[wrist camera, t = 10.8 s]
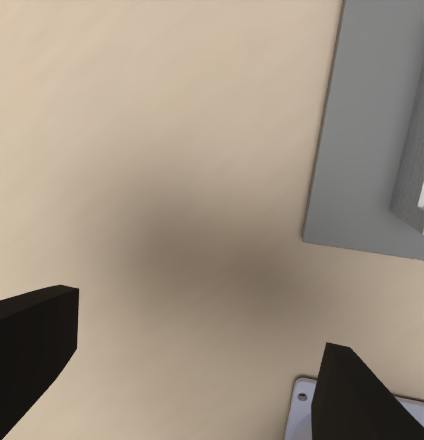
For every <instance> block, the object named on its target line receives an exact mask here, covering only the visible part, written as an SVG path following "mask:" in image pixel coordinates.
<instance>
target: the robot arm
mask: <svg viewBox="0 0 424 440" xmlns="http://www.w3.org/2000/svg"><path fill="white" fill-rule="evenodd" d="M78 306H79V289H78V288H73V287H68V286H64V285H57V286H51V287H47V288H43V289H39V290H35V291H32V292H28V293H25V294H21V295H18V296H14V297H11V298H7V299H4V300H0V440H2V439H3V438H4V437H5V436H6V435H7V434H8V432H9V431H10V430H11V429H12V428H13V427H14V426H15V425H16V424H17V422H18V421H19V420H20V419H21V418H22V417H23V416H24V415H25V414H26V412H27V411H28V410H29V409H30V408H31V407H32V406H33V405H34V404H35V402H36V401H37V400H38V399H39V398H40V397H41V396H42V395H43V393H44V392H45V391H46V390H47V389H48V388H49V387H50V385H51V384H52V383H53V382H54V381H55V380H56V378H57V377H58V376H59V374H60V373H61V372H62V370H63V369H64V367H65V366H66V364H67V363H68V361H69V360H70V358H71V357H72V355H73V354H74V352H75V351H76V349H77V333H78ZM300 393H304V394H306V395H305V396H300V395H299V394H300ZM284 440H424V402H419V401H414V400H409V399H404V398H400V397H395V396H393V395H392V394H391V392H390V391H389V390H388V389H387V388H386V387H385V386H384V385H383V384H382V382H381V381H380V380H379V379H378V378H377V377H376V376H375V375H374V373H373V372H372V371H371V370H370V369H369V368H368V367H367V365H366V364H365V363H364V362H363V361H362V360H361V359H360V357H359V356H358V355H357V354H356V353H355V352H354V351H353V350H352V349H351V348H350V347H346V346H341V345H337V344H332V343H327V342H326V346H325V350H324V354H323V358H322V362H321V367H320V371H319V375H318V379H317V380H313V379H308V378H299V379H297V380H296V381H295V384H294V389H293V394H292V399H291V405H290V410H289V415H288V420H287V425H286V431H285V436H284Z"/></svg>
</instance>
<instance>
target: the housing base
mask: <svg viewBox="0 0 424 440" xmlns="http://www.w3.org/2000/svg"><path fill="white" fill-rule="evenodd" d="M389 212H391V213H392V214H394V215H395V216H397V217H398V218H399V219H401V220H402V221H404V222H405V223H406V224H408V225H409V226H411V227H412V228H414V229H415V230H416V231H418V232H419V233H421V234H422V235H424V63H423V67H422V71H421V76H420V80H419V84H418V88H417V93H416V97H415V101H414V105H413V110H412V114H411V118H410V122H409V126H408V131H407V135H406V139H405V143H404V148H403V152H402V156H401V160H400V164H399V169H398V173H397V177H396V181H395V186H394V190H393V194H392V198H391V203H390V207H389Z"/></svg>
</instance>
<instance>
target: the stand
mask: <svg viewBox="0 0 424 440" xmlns="http://www.w3.org/2000/svg"><path fill="white" fill-rule="evenodd" d="M423 63H424V0H343V4H342V10H341V16H340V21H339V27H338V33H337V38H336V44H335V50H334V55H333V61H332V67H331V72H330V78H329V84H328V89H327V95H326V101H325V106H324V112H323V118H322V123H321V129H320V135H319V140H318V146H317V152H316V157H315V163H314V169H313V174H312V180H311V186H310V191H309V197H308V203H307V208H306V214H305V220H304V225H303V231H302V241H303V242H305V243H312V244H319V245H325V246H332V247H338V248H345V249H352V250H358V251H365V252H371V253H378V254H385V255H391V256H398V257H404V258H411V259H418V260H424V235H422V234H421V233H419V232H418V231H416V230H415V229H414V228H412V227H411V226H409V225H408V224H406V223H405V222H404V221H402V220H401V219H399V218H398V217H397V216H395V215H394V214H392V213H391V212H389V207H390V203H391V198H392V194H393V190H394V186H395V181H396V177H397V173H398V169H399V164H400V160H401V156H402V152H403V148H404V143H405V139H406V135H407V131H408V126H409V122H410V118H411V114H412V110H413V105H414V101H415V97H416V93H417V88H418V84H419V80H420V76H421V71H422V67H423Z"/></svg>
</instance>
